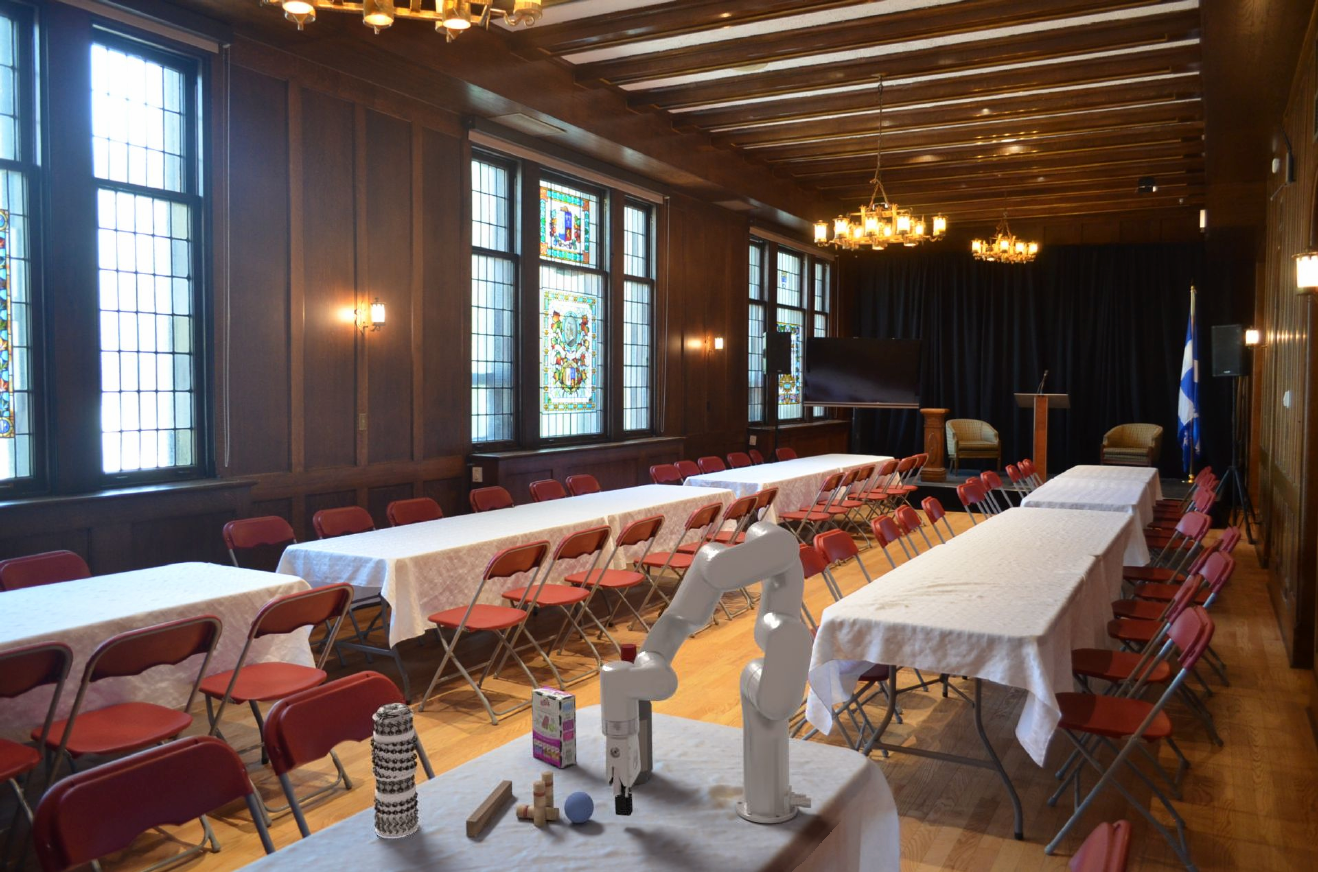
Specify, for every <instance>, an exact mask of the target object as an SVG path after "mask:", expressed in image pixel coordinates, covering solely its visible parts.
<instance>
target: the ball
mask: <svg viewBox="0 0 1318 872" xmlns="http://www.w3.org/2000/svg"><path fill="white" fill-rule="evenodd" d="M594 806H595V804H594V800H593V799H592V797H591V796H590V795H589V794H588V793H586V792H584V791H576V792H572V793H571V794H570V795H568V797H567V798H566V800H565V801H564V806H563V807H564V809H563V810H564V814H565V817H567V819H568V820H569V821H571V822H572V823H575V824H582V823H585V822H587V821H589V819H590V818H591V817H592V816H593V813H594V810H595V807H594Z"/></svg>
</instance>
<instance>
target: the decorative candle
mask: <svg viewBox="0 0 1318 872" xmlns="http://www.w3.org/2000/svg"><path fill="white" fill-rule="evenodd" d="M414 715H415V711H414V710H413V709H411V708H410V707H409V706H408V705H407V704H404V703H400V702H395V703H394V702H393V703H387V704H385V705H382V706H380V707H379V708H378V709H377V712H375V713H374V714H372V719H373V721H374V723H373V725H374V726H373V729H374V730H373V735H372V736H373V737H372V738H370V746H371V748H372V749H371V763H372V764H373V767H372V775H373V777H374V778H375V789H374V795H375V796H374V799H373V802H374V803H375V804H374V807H373V810H374V811H375V812H374V815H373V818H374V820H375V821H374V827H375V830H374V832H375V831H376V832H379V833H378V834H379V835H382V836H386V837H399V836H403V835H408V834H410V833H412V832H414V831H415V830H416V829H417V828H418V829H419V818H420V817H419V816H418V814H419V811H420V810H419V809H418V803H419V800H418V795H419V793H418V792H417V784H416V780H415V779H416V777H415V776H416V775H415V774H416V773H417V770H418V768H417V767H418V762H417V761H416V760H417V758H418V754H417V753H415V751H416V750H417V749H418V747H419V745H418V744H417V743H416V742H417V741H418V736H416V735H415V727H414ZM418 829H417V830H418ZM415 832H416V831H415ZM415 832H414V833H415Z"/></svg>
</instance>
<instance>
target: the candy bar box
mask: <svg viewBox="0 0 1318 872" xmlns="http://www.w3.org/2000/svg"><path fill="white" fill-rule="evenodd" d="M576 708H577V707H576V695H575V694H572V693H569V692H566V691H562V690H560V689H558V688H557V689H556V688H553V687H550V686H549V685H547V686H542V687H539V688H535V689H532V690H531V718H532V719H531V721H532V724H531V725H532V726H531V727H532V757H533V758H535V759H537V760H538V761H542V762H544V763H547V764H549V765H551V766H553V767H554V766H555V767H556V768H559V769H565V768H567V767H571V766H574V765H575V764H577V728H576V727H577V725H576V724H577V715H576V714H577V713H576V710H577V709H576Z"/></svg>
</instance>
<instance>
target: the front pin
mask: <svg viewBox="0 0 1318 872" xmlns="http://www.w3.org/2000/svg"><path fill="white" fill-rule="evenodd" d="M515 815H516V818H521V819H522V818H524V819H533V820H534V805H527V804H525V805H524V804H517V806H516V810H515ZM559 818H560V808H559V807H554V808H552V807H546V821H547V820H548V821H558V820H559Z"/></svg>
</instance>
